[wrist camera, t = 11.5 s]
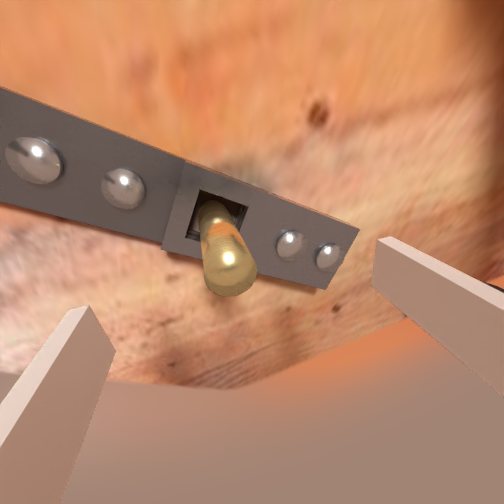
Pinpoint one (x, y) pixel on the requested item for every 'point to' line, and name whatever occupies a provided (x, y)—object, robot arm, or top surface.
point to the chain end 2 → (264, 229)
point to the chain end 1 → (85, 170)
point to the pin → (224, 252)
